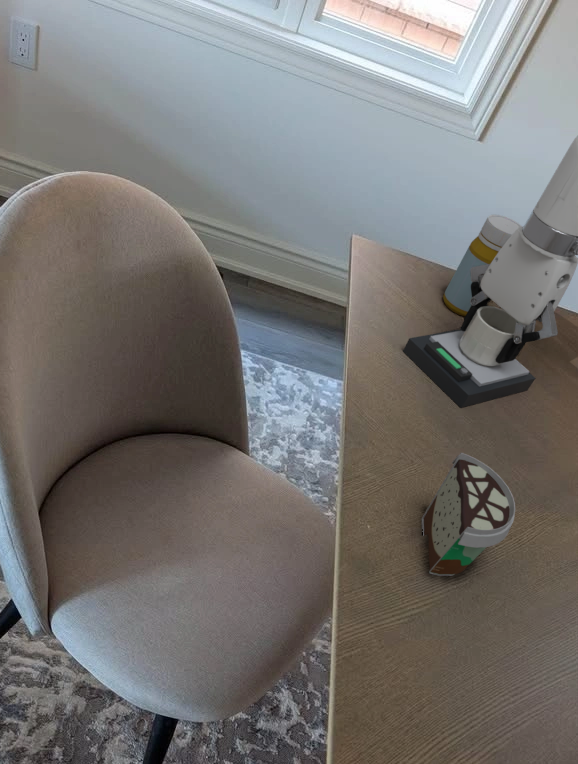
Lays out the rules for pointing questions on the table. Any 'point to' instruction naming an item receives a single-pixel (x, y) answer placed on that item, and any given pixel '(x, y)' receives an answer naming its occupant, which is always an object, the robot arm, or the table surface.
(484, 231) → the bottle
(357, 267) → the table surface
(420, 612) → the table surface
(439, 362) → the scale
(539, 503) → the table surface
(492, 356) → the cup
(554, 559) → the table surface
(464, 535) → the food container
